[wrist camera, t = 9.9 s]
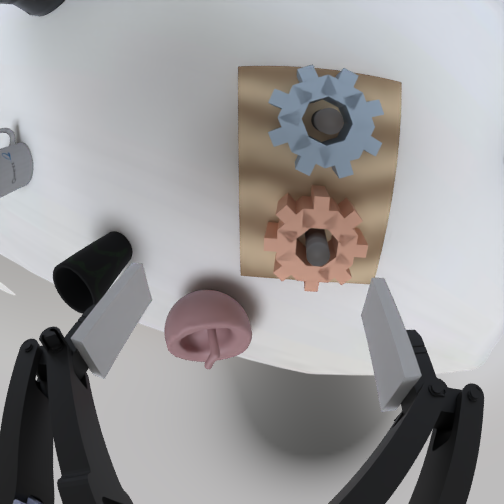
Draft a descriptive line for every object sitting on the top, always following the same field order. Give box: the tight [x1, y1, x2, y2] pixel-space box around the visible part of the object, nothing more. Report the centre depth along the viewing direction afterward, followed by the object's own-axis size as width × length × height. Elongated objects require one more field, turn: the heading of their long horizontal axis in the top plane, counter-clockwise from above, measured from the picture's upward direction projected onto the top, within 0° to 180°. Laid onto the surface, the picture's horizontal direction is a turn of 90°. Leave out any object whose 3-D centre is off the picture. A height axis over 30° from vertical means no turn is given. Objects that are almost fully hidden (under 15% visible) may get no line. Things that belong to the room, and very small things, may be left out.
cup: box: [53, 232, 132, 313], centre depth 34 cm, size 8×8×12 cm
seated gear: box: [268, 65, 384, 179], centre depth 24 cm, size 11×11×4 cm
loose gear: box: [264, 185, 368, 292], centre depth 30 cm, size 11×11×4 cm
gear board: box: [238, 66, 401, 284], centre depth 27 cm, size 26×18×8 cm
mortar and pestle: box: [165, 290, 252, 369], centre depth 36 cm, size 12×12×12 cm
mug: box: [0, 128, 33, 198], centre depth 29 cm, size 12×9×10 cm
